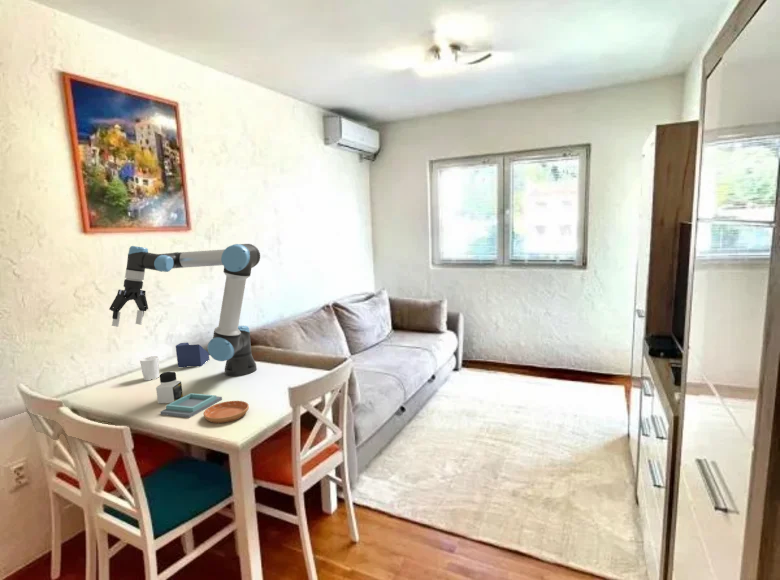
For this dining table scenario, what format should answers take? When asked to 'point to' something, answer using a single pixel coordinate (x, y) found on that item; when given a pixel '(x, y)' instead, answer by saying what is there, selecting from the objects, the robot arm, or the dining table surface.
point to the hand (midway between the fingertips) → (127, 325)
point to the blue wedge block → (191, 355)
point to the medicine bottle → (169, 388)
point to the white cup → (150, 367)
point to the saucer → (226, 411)
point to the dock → (190, 405)
